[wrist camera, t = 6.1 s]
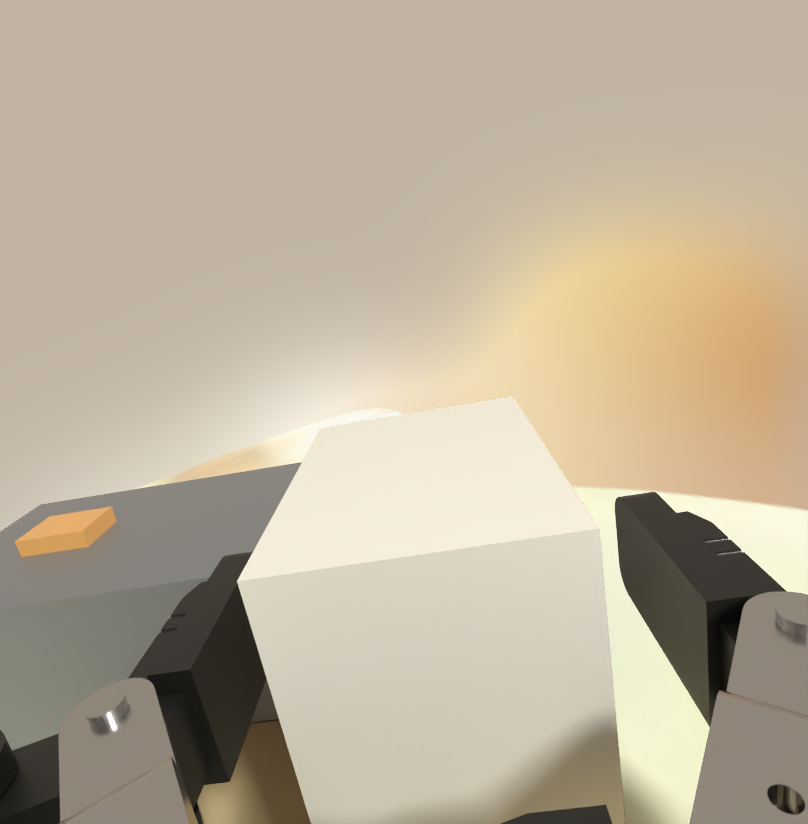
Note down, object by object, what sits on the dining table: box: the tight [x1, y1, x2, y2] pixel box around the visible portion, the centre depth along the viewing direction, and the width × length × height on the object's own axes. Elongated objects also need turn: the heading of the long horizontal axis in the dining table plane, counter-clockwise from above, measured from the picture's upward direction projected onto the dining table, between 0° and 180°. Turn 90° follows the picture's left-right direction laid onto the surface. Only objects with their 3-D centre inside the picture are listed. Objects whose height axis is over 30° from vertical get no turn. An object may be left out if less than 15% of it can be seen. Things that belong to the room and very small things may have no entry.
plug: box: [237, 397, 625, 824], centre depth 12 cm, size 4×9×9 cm, turn 179°
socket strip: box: [0, 462, 302, 750], centre depth 20 cm, size 29×8×6 cm, turn 89°
